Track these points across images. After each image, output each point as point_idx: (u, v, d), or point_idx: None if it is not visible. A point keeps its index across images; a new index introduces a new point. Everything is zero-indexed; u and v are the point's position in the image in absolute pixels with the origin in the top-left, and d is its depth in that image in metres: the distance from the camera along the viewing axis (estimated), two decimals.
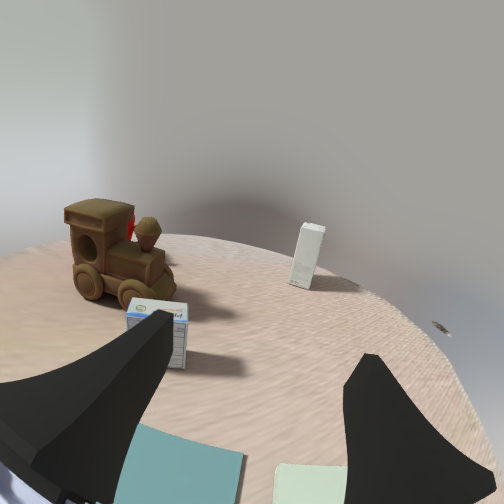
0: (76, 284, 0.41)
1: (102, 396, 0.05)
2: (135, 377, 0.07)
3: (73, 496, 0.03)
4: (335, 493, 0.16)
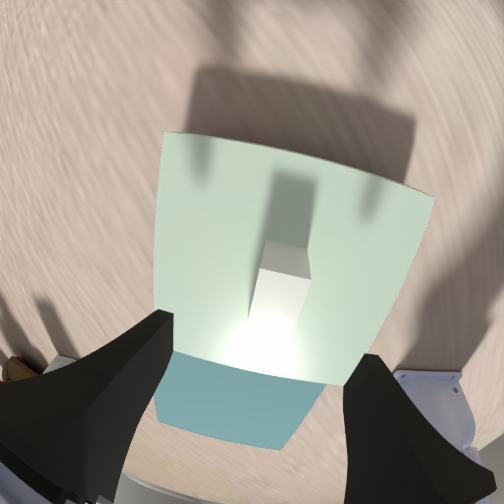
0: None
1: (102, 396, 0.05)
2: (135, 377, 0.07)
3: (73, 496, 0.03)
4: (211, 292, 0.15)
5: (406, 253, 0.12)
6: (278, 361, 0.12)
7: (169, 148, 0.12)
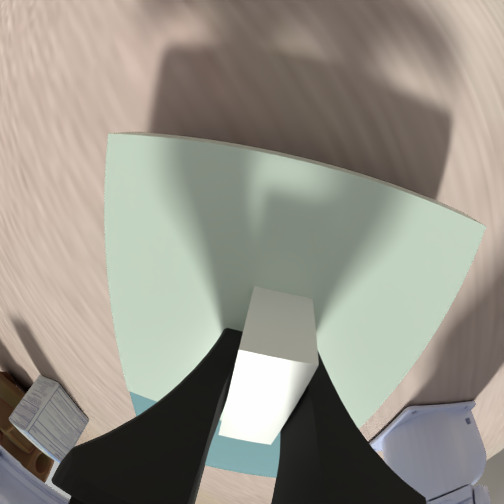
0: None
1: (209, 434, 0.05)
2: (220, 403, 0.07)
3: None
4: (183, 346, 0.11)
5: (443, 299, 0.08)
6: (269, 440, 0.08)
7: (115, 156, 0.08)
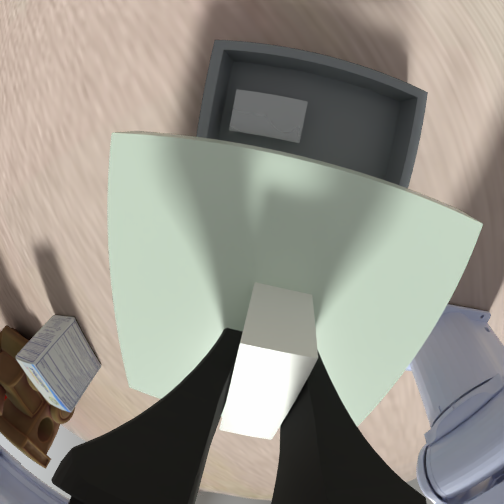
0: (72, 412, 0.33)
1: (209, 434, 0.05)
2: (220, 403, 0.07)
3: None
4: (185, 342, 0.11)
5: (441, 295, 0.08)
6: (270, 435, 0.08)
7: (119, 155, 0.08)
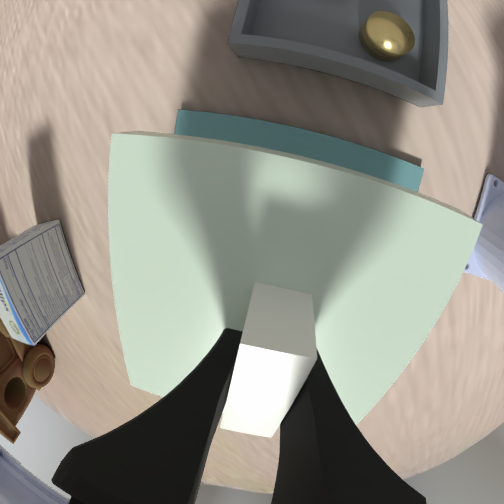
0: (50, 375, 0.28)
1: (209, 434, 0.05)
2: (220, 403, 0.07)
3: None
4: (186, 340, 0.11)
5: (440, 295, 0.08)
6: (270, 433, 0.08)
7: (118, 156, 0.08)
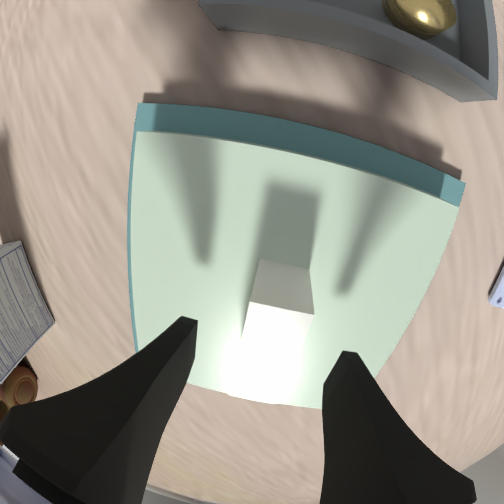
0: (33, 397, 0.23)
1: (137, 411, 0.05)
2: (164, 387, 0.07)
3: None
4: (197, 317, 0.12)
5: (424, 272, 0.10)
6: (274, 399, 0.10)
7: (143, 150, 0.10)
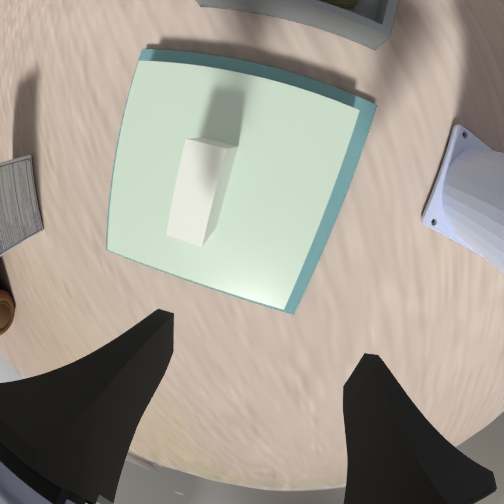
0: (8, 324, 0.26)
1: (102, 396, 0.05)
2: (135, 377, 0.07)
3: (73, 497, 0.03)
4: (156, 188, 0.16)
5: (333, 158, 0.14)
6: (200, 239, 0.13)
7: (140, 71, 0.13)
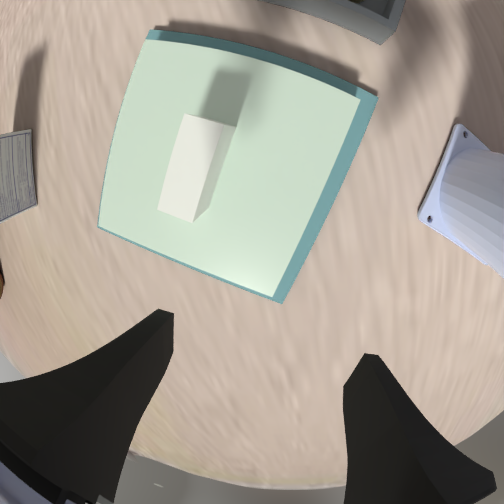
0: None
1: (102, 396, 0.05)
2: (135, 377, 0.07)
3: (73, 496, 0.03)
4: (152, 165, 0.15)
5: (331, 144, 0.14)
6: (191, 215, 0.13)
7: (146, 49, 0.12)
